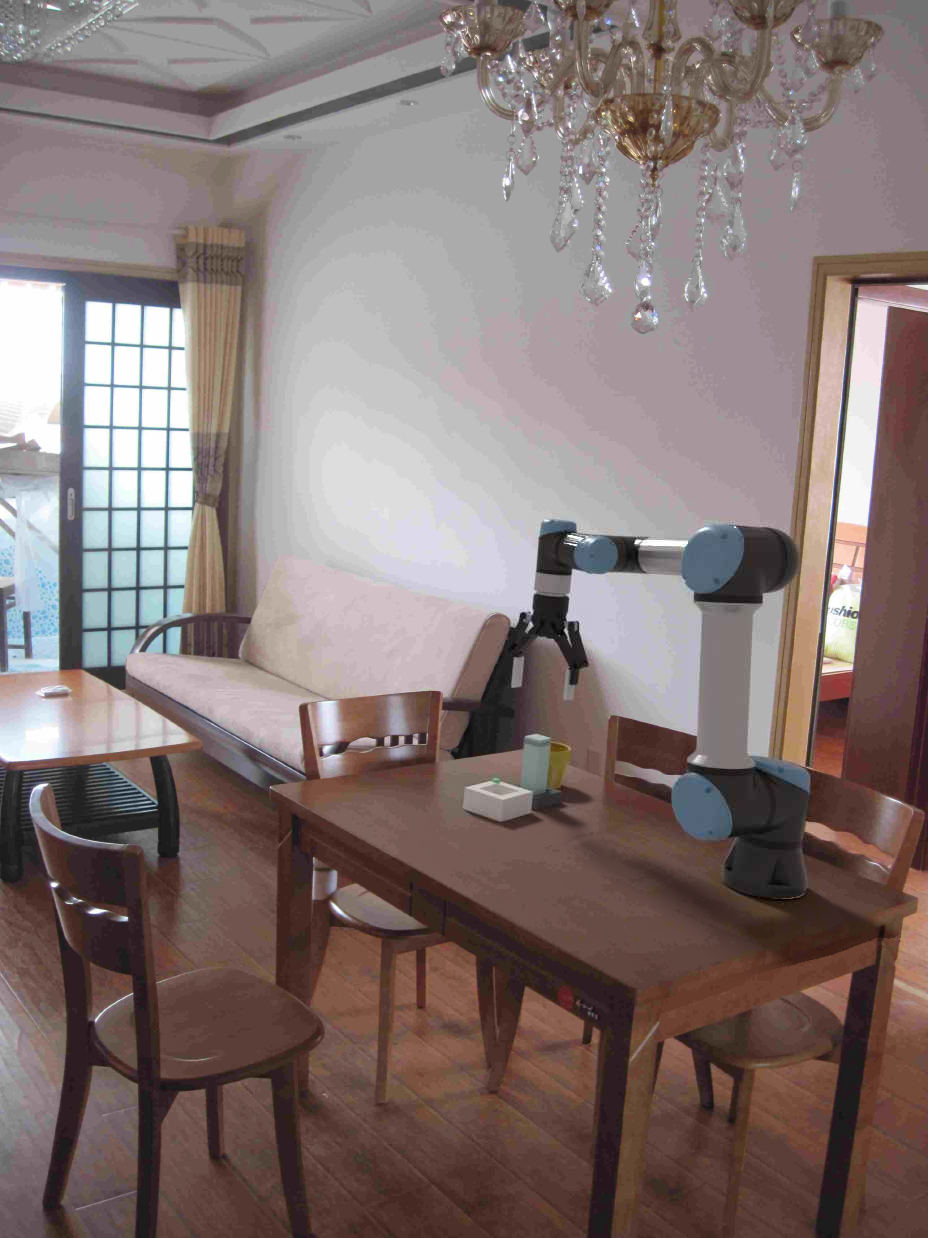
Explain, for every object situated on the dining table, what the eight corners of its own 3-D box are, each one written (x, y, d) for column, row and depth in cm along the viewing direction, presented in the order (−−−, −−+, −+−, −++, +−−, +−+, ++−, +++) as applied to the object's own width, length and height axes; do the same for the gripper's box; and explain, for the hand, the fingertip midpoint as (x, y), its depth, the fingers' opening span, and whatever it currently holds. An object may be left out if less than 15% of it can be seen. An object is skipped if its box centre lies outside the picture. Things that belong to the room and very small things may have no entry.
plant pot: (513, 782, 262) (517, 740, 261) (553, 780, 266) (557, 739, 265) (535, 796, 253) (539, 753, 251) (575, 794, 257) (580, 751, 256)
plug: (545, 801, 246) (551, 738, 244) (533, 805, 243) (540, 740, 241) (529, 796, 249) (536, 733, 247) (518, 800, 246) (524, 736, 244)
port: (530, 815, 237) (533, 788, 237) (500, 824, 230) (503, 797, 229) (493, 802, 244) (495, 777, 243) (462, 811, 236) (465, 784, 235)
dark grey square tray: (560, 804, 246) (562, 791, 246) (535, 812, 240) (537, 798, 239) (527, 794, 252) (528, 781, 252) (502, 801, 245) (503, 787, 245)
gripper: (611, 601, 235) (601, 703, 238) (515, 584, 250) (506, 680, 253) (591, 603, 229) (580, 707, 232) (493, 585, 245) (484, 683, 248)
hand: (541, 693), depth 243 cm, fingers open, 13 cm apart
